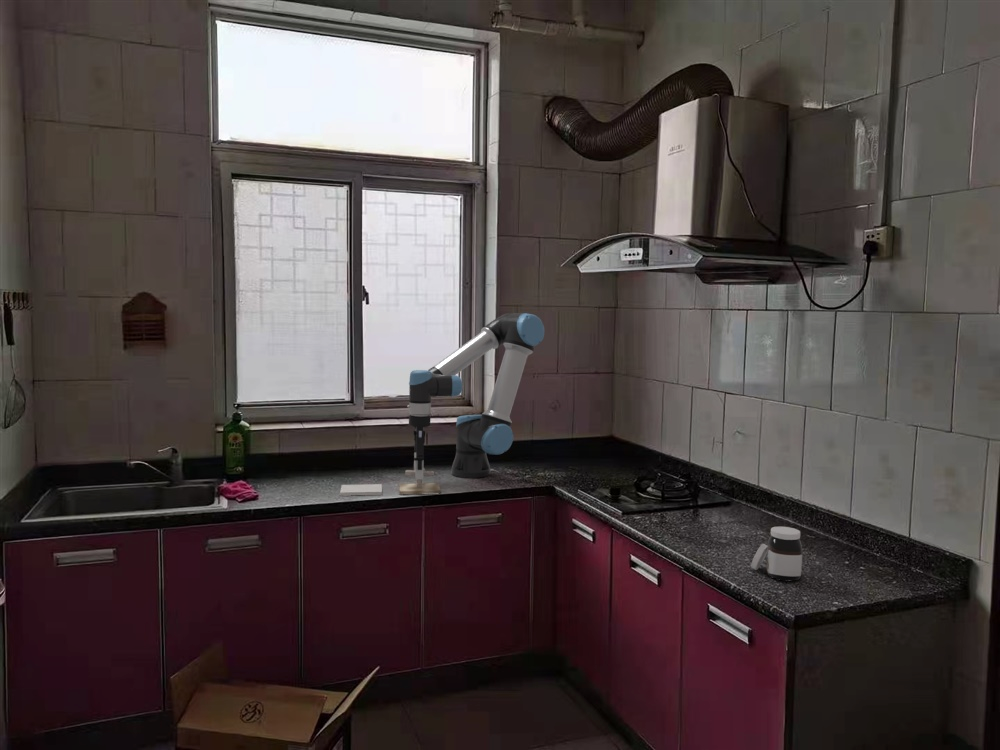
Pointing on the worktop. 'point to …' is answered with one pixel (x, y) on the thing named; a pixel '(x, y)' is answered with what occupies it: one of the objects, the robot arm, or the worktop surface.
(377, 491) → the tile
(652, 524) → the worktop surface
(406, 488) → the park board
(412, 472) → the pipe connector
